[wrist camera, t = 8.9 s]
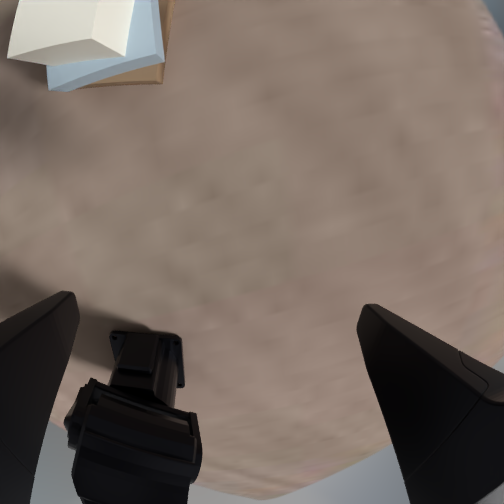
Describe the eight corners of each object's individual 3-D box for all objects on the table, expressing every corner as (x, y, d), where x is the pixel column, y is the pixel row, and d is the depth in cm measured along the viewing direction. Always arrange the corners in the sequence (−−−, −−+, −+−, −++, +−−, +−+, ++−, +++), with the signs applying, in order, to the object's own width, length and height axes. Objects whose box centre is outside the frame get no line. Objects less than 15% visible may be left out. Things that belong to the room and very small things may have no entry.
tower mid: (165, 61, 15) (156, 53, 12) (68, 91, 14) (48, 90, 12) (156, -24, 12) (147, -41, 10) (62, 8, 12) (45, -2, 9)
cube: (125, 56, 12) (91, 38, 8) (53, 66, 12) (6, 58, 8) (138, -15, 10) (113, -50, 6) (66, -2, 10) (27, -25, 6)
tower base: (163, 84, 17) (155, 80, 15) (71, 90, 16) (54, 88, 14) (177, -6, 15) (172, -19, 12) (85, 4, 14) (71, -6, 11)
